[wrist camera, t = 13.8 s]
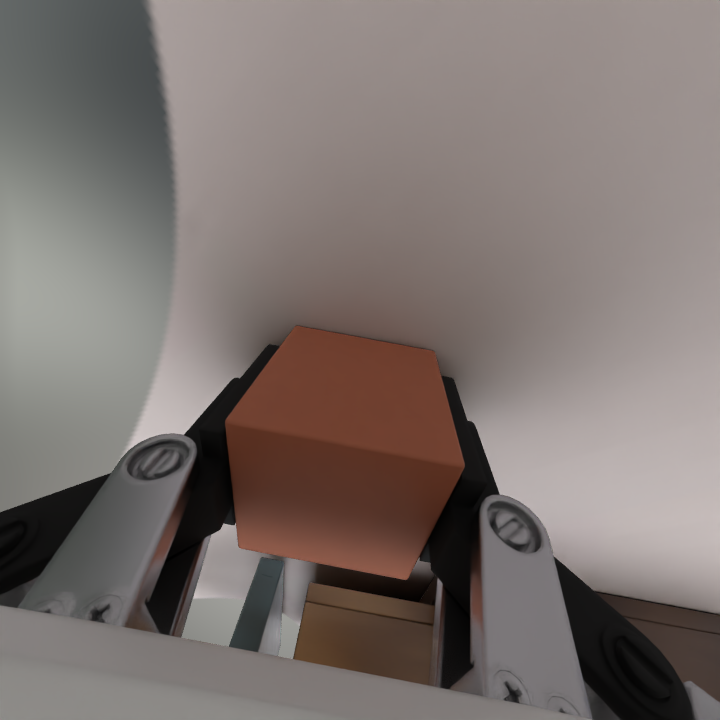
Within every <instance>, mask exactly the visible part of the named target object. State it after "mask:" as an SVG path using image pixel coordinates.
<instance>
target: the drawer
mask: <svg viewBox="0 0 720 720" xmlns="http://www.w3.org/2000/svg"><path fill="white" fill-rule="evenodd" d="M283 575H284V562H283V561H279V560H274V559H269V558H263V557H262V558H261V559H260V561H259V564H258V567H257V570H256V572H255V575H254V578H253V581H252V584H251V586H250V589H249V592H248V595H247V597H246V600H245V603H244V606H243V609H242V611H241V614H240V617H239V620H238V622H237V625H236V628H235V631H234V634H233V637H232V639H231V642H230V645H229V647H232V648H237V649H243V650H248V651H253V652H258V653H263V654H269V655H274V656H278V652H279V648H280V641H281V617H282V597H283ZM434 612H435V606H434V605H429V604H423V603H418V602H413V601H407V600H402V599H397V598H391V597H386V596H380V595H375V594H370V593H364V592H359V591H354V590H348V589H343V588H338V587H332V586H327V585H322V584H316V583H309V586H308V591H307V596H306V601H305V605H304V610H303V614H302V619H301V624H300V629H299V633H298V638H297V643H296V648H295V653H294V657H293V659H295V660H300V661H305V662H310V663H315V664H320V665H326V666H331V667H336V668H341V669H346V670H351V671H357V672H362V673H367V674H372V675H377V676H382V677H387V678H393V679H398V680H403V681H408V682H413V683H418V684H423V685H428V680H429V668H430V657H431V646H432V635H433V624H434Z"/></svg>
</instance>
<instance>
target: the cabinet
mask: <svg viewBox="0 0 720 720" xmlns="http://www.w3.org/2000/svg"><path fill="white" fill-rule="evenodd" d="M437 579H438V577H437V576H436V575H435V577H434V578H433V580H432V582H431V583H430V585H429V587H428V588H427V590H426V592H425V593H424V595H423V597H422V598H421V600H420V602H419V603H423V604H429V605H434V606H435V601H436V590H437ZM595 593H597V592H595ZM597 594H598V595H599V596H600V597H601V598H602V599H604V600H605V601H606V602H607V603H608V604H609V605H610V606H612V607H613V608H614V609H615V610H616V611H617V612H619V613H620V614H621V615H622V616H623V617H624V618H626V619H627V620H628V621H629V622H630V623H631V624H632V625H634V626H635V627H636V628H637V629H638V630H639V631H641V632H642V633H643V634H644V635H645V636H646V637H647V638H648V639H649V640H650V641H651V642H652V643H653V644H654V645H655V646H656V647H657V648H658V649H659V650H660V651H661V652H662V654H663V655H664V656H665V657H666V659H667V660H668V661H669V662H670V664H671V665H672V666H673V668H674V669H675V671H676V673H677V674H678V676H679V678H680V679H681V681H682V682H683V683H685V682H687V681H692V682H693V683H694V684H696V685H697V686H698V687H700V688H701V689H702V690H703V691H705V692H706V693H707V694H709V695H710V696H711V697H713V698H714V699H715V700H717V701H718V702H719V703H720V615H715V614H709V613H704V612H699V611H693V610H688V609H683V608H677V607H672V606H666V605H661V604H656V603H650V602H645V601H640V600H634V599H629V598H623V597H618V596H613V595H607V594H602V593H597Z"/></svg>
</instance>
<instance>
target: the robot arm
mask: <svg viewBox="0 0 720 720" xmlns="http://www.w3.org/2000/svg"><path fill="white" fill-rule="evenodd" d="M279 347H280V346H277V345H272V344H269V345H267V347H266V348H265V349H264V350H263V351H262V353H261V354H260V355H259V356H258V357H257V359H256V360H255V361H254V362H253V363H252V365H251V366H250V367H249V368H248V370H247V371H246V372H245V373H244V374H243V376H242V377H241V378H234V379H233V380H231V381H230V382H229V384H228V385H227V386H226V387H225V388H224V389H223V391H222V392H221V393H220V394H219V395H218V396H217V397H216V399H215V400H214V401H213V402H212V403H211V404H210V406H209V407H208V408H207V409H206V410H205V411H204V412H203V414H202V415H201V416H200V417H199V418H198V419H197V421H196V422H195V423H194V424H193V425H192V426H191V427H190V429H189V430H188V431H187V432H186V433H185V434H184V435H181V434H162V435H158V436H155V437H151V438H149V439H146V440H144V441H142V442H140V443H138V444H137V445H135V446H134V447H133V448H131V449H130V450H129V451H128V452H127V453H126V454H125V455H124V456H123V457H122V458H121V460H120V461H119V463H118V464H117V466H116V467H115V468H114V470H113V471H112V473H110V474H107V475H104V476H101V477H98V478H95V479H93V480H90V481H87V482H84V483H81V484H79V485H76V486H73V487H70V488H67V489H65V490H62V491H59V492H56V493H53V494H51V495H48V496H45V497H42V498H39V499H37V500H34V501H31V502H28V503H25V504H22V505H20V506H17V507H14V508H11V509H9V510H6V511H3V512H0V720H720V703H719V702H718V701H717V700H715V699H714V698H713V697H711V696H710V695H709V694H707V693H706V692H705V691H703V690H702V689H701V688H700V687H698V686H697V685H696V684H694V683H693V682H692V681H687V682H685V683H683V682H682V681H681V679H680V678H679V676H678V674H677V673H676V671H675V669H674V668H673V666H672V665H671V664H670V662H669V661H668V660H667V659H666V657H665V656H664V655H663V654H662V652H661V651H660V650H659V649H658V648H657V647H656V646H655V645H654V644H653V643H652V642H651V641H650V640H649V639H648V638H647V637H646V636H645V635H644V634H643V633H642V632H641V631H639V630H638V629H637V628H636V627H635V626H634V625H632V624H631V623H630V622H629V621H628V620H627V619H626V618H624V617H623V616H622V615H621V614H620V613H619V612H617V611H616V610H615V609H614V608H613V607H612V606H610V605H609V604H608V603H607V602H606V601H605V600H604V599H602V598H601V597H600V596H599V595H598V594H597V593H595V592H594V591H593V590H592V589H591V588H590V587H589V586H587V585H586V584H585V583H584V582H583V581H582V580H580V579H579V578H578V577H577V576H576V575H575V574H574V573H572V572H571V571H570V570H569V569H568V568H567V567H565V566H564V565H563V564H562V563H561V562H560V561H558V560H557V559H556V558H555V557H554V556H553V552H552V548H551V544H550V539H549V537H548V534H547V531H546V529H545V527H544V526H543V524H542V523H541V521H540V520H539V518H538V517H537V516H536V515H535V514H534V513H533V512H532V511H531V510H530V509H529V508H528V507H526V506H525V505H523V504H522V503H521V502H519V501H517V500H515V499H513V498H511V497H508V496H504V495H500V494H499V491H498V488H497V486H496V483H495V480H494V477H493V474H492V472H491V469H490V466H489V463H488V460H487V457H486V455H485V452H484V449H483V446H482V443H481V441H480V438H479V435H478V432H477V429H476V427H475V425H474V423H473V422H471V421H467V418H466V415H465V412H464V409H463V406H462V403H461V400H460V397H459V394H458V391H457V388H456V385H455V382H454V379H453V378H449V377H444V376H441V377H442V381H443V385H444V388H445V392H446V396H447V400H448V403H449V407H450V411H451V415H452V418H453V422H454V426H455V430H456V433H457V437H458V441H459V445H460V448H461V452H462V456H463V460H464V463H465V467H464V470H463V471H462V473H461V475H460V477H459V479H458V481H457V483H456V485H455V487H454V489H453V491H452V493H451V495H450V497H449V499H448V501H447V503H446V505H445V507H444V509H443V511H442V513H441V515H440V517H439V519H438V521H437V523H436V524H435V526H434V528H433V530H432V532H431V534H430V536H429V538H428V540H427V542H426V544H425V546H424V548H423V550H422V552H421V554H420V556H419V557H420V561H424V562H429V563H431V570H432V572H433V573H434V574H435V575H436V576H437V577H438V579H437V590H436V601H435V612H434V624H433V635H432V646H431V657H430V668H429V680H428V685H423V684H418V683H413V682H408V681H403V680H398V679H393V678H387V677H382V676H377V675H372V674H367V673H362V672H357V671H351V670H346V669H341V668H336V667H331V666H326V665H320V664H315V663H310V662H305V661H300V660H295V659H289V658H284V657H279V656H274V655H269V654H263V653H258V652H253V651H248V650H243V649H237V648H232V647H227V646H221V645H217V644H211V643H206V642H201V641H195V640H190V639H185V638H181V636H182V633H183V630H184V626H185V623H186V619H187V616H188V613H189V609H190V606H191V602H192V599H193V596H194V592H195V589H196V585H197V582H198V579H199V575H200V572H201V568H202V565H203V561H204V558H205V555H206V551H207V548H208V544H209V541H210V538H211V534H213V533H215V532H217V531H219V530H220V529H221V527H222V525H223V523H224V524H229V525H235V523H236V519H235V510H234V501H233V491H232V482H231V473H230V464H229V455H228V446H227V437H226V428H225V421H226V419H227V417H228V416H229V415H230V413H231V412H232V411H233V409H234V408H235V406H236V405H237V404H238V402H239V401H240V400H241V398H242V397H243V396H244V394H245V393H246V392H247V390H248V389H249V388H250V386H251V385H252V384H253V382H254V381H255V379H256V378H257V377H258V375H259V374H260V373H261V371H262V370H263V369H264V367H265V366H266V365H267V363H268V362H269V361H270V359H271V358H272V357H273V355H274V354H275V352H276V351H277V350H278V348H279Z"/></svg>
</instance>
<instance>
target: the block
mask: <svg viewBox="0 0 720 720" xmlns="http://www.w3.org/2000/svg"><path fill="white" fill-rule="evenodd" d="M225 428H226V437H227V446H228V455H229V464H230V473H231V482H232V491H233V501H234V510H235V519H236V528H237V537H238V546H239V548H241V549H246V550H251V551H257V552H262V553H267V554H272V555H278V556H283V557H288V558H293V559H298V560H304V561H309V562H314V563H319V564H325V565H330V566H335V567H340V568H346V569H351V570H356V571H361V572H367V573H372V574H377V575H382V576H388V577H393V578H398V579H403V580H407V579H408V578H409V576H410V574H411V572H412V570H413V568H414V566H415V564H416V562H417V560H418V558H419V556H420V554H421V552H422V550H423V548H424V546H425V544H426V542H427V540H428V538H429V536H430V534H431V532H432V530H433V528H434V526H435V524H436V523H437V521H438V519H439V517H440V515H441V513H442V511H443V509H444V507H445V505H446V503H447V501H448V499H449V497H450V495H451V493H452V491H453V489H454V487H455V485H456V483H457V481H458V479H459V477H460V475H461V473H462V471H463V470H464V467H465V463H464V460H463V456H462V452H461V448H460V445H459V441H458V437H457V433H456V430H455V426H454V422H453V418H452V415H451V411H450V407H449V403H448V400H447V396H446V392H445V388H444V385H443V381H442V377H441V374H440V370H439V366H438V362H437V359H436V355H435V352H434V351H431V350H426V349H420V348H415V347H409V346H404V345H399V344H393V343H388V342H382V341H377V340H372V339H366V338H361V337H355V336H350V335H345V334H339V333H334V332H328V331H323V330H318V329H312V328H307V327H301V326H295V327H294V328H293V330H292V331H291V332H290V334H289V335H288V336H287V338H286V339H285V340H284V342H283V343H282V344H281V346H280V347H279V348H278V350H277V351H276V352H275V354H274V355H273V357H272V358H271V359H270V361H269V362H268V363H267V365H266V366H265V367H264V369H263V370H262V371H261V373H260V374H259V375H258V377H257V378H256V379H255V381H254V382H253V384H252V385H251V386H250V388H249V389H248V390H247V392H246V393H245V394H244V396H243V397H242V398H241V400H240V401H239V402H238V404H237V405H236V406H235V408H234V409H233V411H232V412H231V413H230V415H229V416H228V417H227V419H226V421H225Z"/></svg>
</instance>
